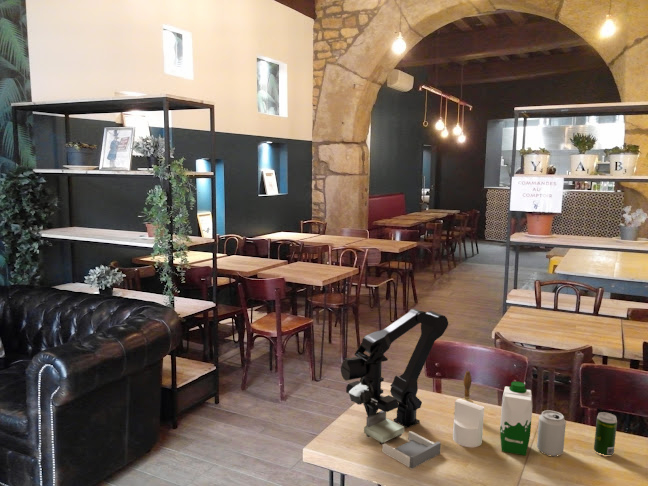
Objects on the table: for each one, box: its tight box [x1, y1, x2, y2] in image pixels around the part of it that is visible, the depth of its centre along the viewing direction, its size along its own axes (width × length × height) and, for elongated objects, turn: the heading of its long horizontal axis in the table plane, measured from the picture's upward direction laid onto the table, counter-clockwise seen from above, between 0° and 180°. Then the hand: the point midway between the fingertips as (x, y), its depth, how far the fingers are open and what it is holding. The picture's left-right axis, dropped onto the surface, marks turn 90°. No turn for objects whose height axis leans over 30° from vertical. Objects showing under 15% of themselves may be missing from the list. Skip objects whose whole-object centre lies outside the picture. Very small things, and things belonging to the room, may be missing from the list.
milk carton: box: [499, 380, 533, 457], centre depth 161 cm, size 9×9×20 cm
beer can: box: [593, 411, 618, 456], centre depth 160 cm, size 5×5×12 cm
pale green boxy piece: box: [363, 410, 405, 446], centre depth 167 cm, size 10×8×6 cm
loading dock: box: [381, 430, 441, 470], centre depth 159 cm, size 13×12×4 cm
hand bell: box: [462, 370, 474, 403], centre depth 183 cm, size 8×8×16 cm
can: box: [536, 409, 567, 457], centre depth 161 cm, size 8×8×12 cm
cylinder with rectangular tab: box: [452, 398, 485, 448], centre depth 166 cm, size 9×9×12 cm
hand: (370, 420), depth 171 cm, fingers closed
